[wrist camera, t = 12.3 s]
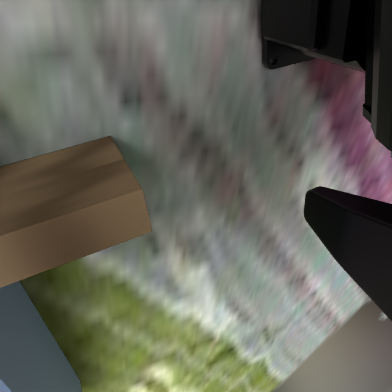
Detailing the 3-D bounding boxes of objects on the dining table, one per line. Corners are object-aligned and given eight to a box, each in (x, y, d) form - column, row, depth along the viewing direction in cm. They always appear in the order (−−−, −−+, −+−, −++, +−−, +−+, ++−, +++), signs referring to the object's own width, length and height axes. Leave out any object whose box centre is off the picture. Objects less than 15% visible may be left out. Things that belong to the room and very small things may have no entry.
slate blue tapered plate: (-155, 120, 14) (-278, 236, 8) (-88, 105, 15) (-155, 203, 9) (50, 394, 28) (62, 512, 22) (80, 380, 29) (99, 491, 23)
